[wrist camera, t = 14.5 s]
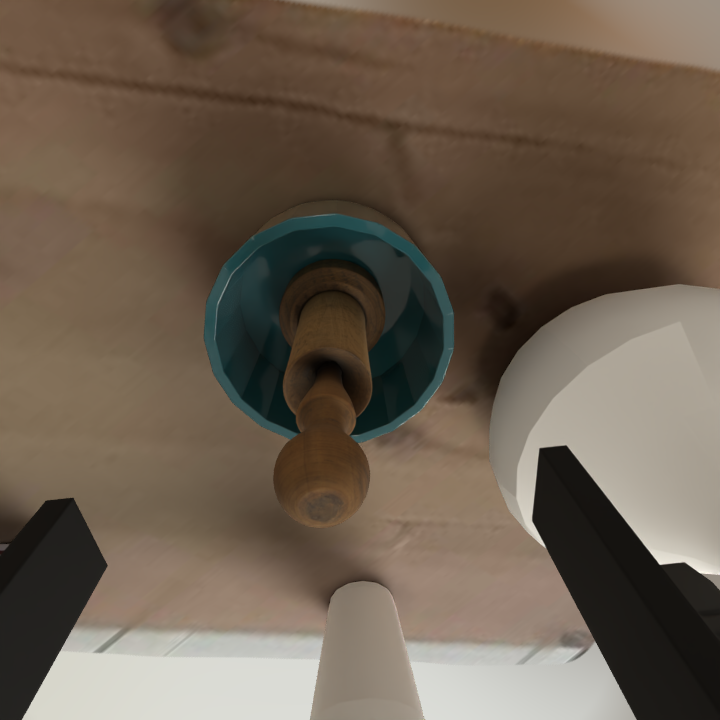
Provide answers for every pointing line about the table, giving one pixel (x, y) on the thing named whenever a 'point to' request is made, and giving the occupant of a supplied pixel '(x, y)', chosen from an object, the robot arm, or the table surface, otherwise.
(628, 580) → the robot arm
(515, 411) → the vase
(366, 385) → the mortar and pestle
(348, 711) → the foam cup
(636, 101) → the table surface
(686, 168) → the table surface
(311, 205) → the crock
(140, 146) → the table surface
